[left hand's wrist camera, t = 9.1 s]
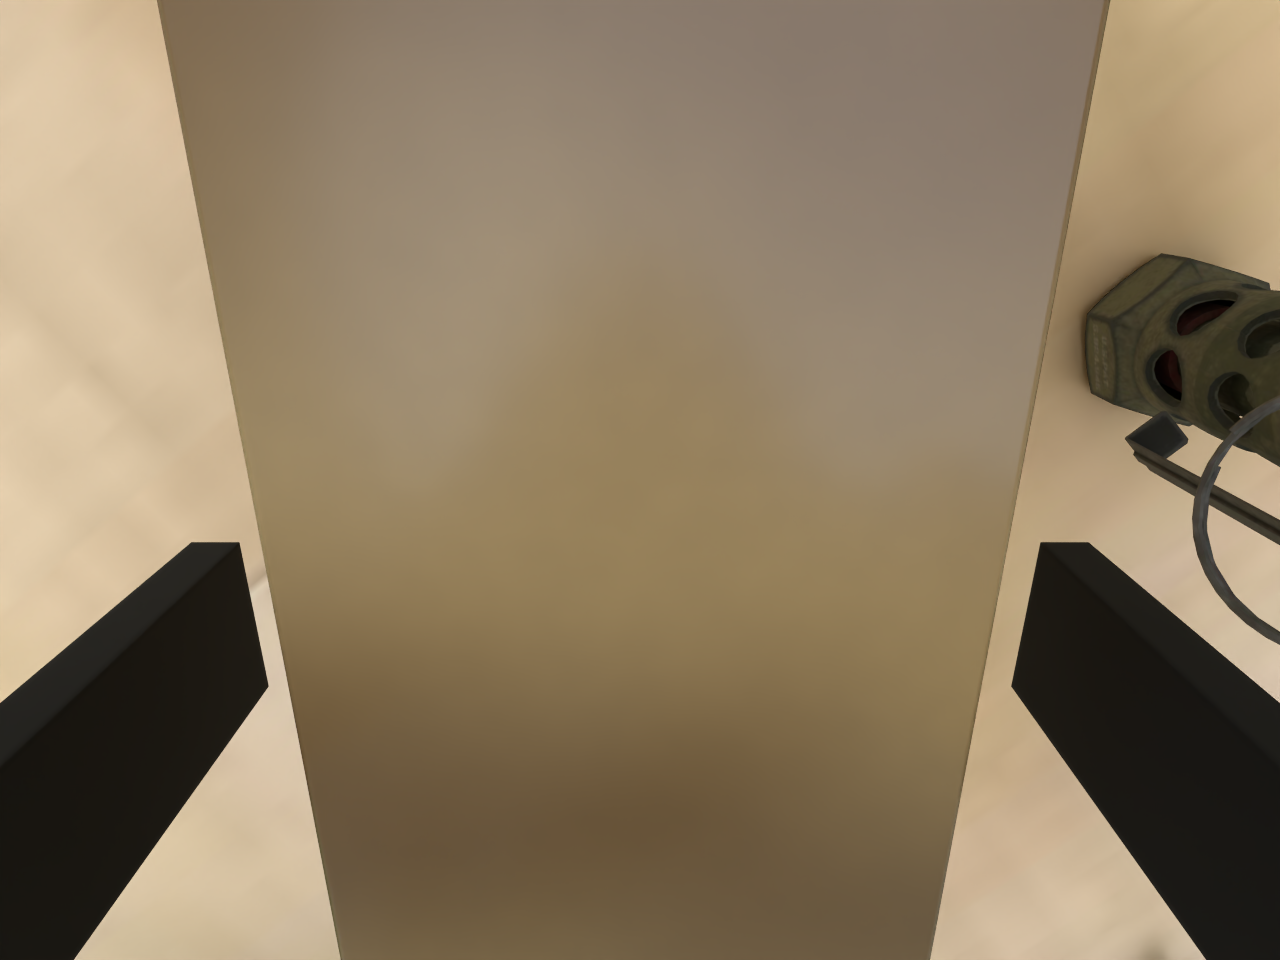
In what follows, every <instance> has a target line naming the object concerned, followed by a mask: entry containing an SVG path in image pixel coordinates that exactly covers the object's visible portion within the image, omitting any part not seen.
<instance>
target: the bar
mask: <svg viewBox="0 0 1280 960" xmlns="http://www.w3.org/2000/svg"><path fill="white" fill-rule="evenodd" d="M157 3H158V8H159V13H160V18H161V24H162V29H163V34H164V39H165V45H166V50H167V55H168V60H169V65H170V71H171V76H172V81H173V86H174V92H175V97H176V102H177V107H178V112H179V118H180V123H181V128H182V133H183V138H184V144H185V149H186V154H187V159H188V165H189V170H190V175H191V180H192V185H193V191H194V196H195V201H196V206H197V212H198V217H199V222H200V227H201V232H202V238H203V243H204V248H205V253H206V258H207V264H208V269H209V274H210V279H211V285H212V290H213V295H214V300H215V305H216V311H217V316H218V321H219V326H220V331H221V337H222V342H223V347H224V352H225V358H226V363H227V368H228V373H229V378H230V384H231V389H232V394H233V399H234V405H235V410H236V415H237V420H238V425H239V431H240V436H241V441H242V446H243V451H244V457H245V462H246V467H247V472H248V478H249V483H250V488H251V493H252V498H253V504H254V509H255V514H256V519H257V525H258V530H259V535H260V540H261V545H262V551H263V556H264V561H265V566H266V571H267V577H268V582H269V587H270V592H271V598H272V603H273V608H274V613H275V618H276V624H277V629H278V634H279V639H280V644H281V650H282V655H283V660H284V665H285V671H286V676H287V681H288V686H289V691H290V697H291V702H292V707H293V712H294V718H295V723H296V728H297V733H298V738H299V744H300V749H301V754H302V759H303V764H304V770H305V775H306V780H307V785H308V791H309V796H310V801H311V806H312V811H313V817H314V822H315V827H316V832H317V838H318V843H319V848H320V853H321V858H322V864H323V869H324V874H325V879H326V884H327V890H328V895H329V900H330V905H331V911H332V916H333V921H334V926H335V931H336V937H337V942H338V947H339V952H340V957H341V960H930V956H931V951H932V946H933V940H934V935H935V930H936V924H937V919H938V914H939V908H940V903H941V898H942V893H943V887H944V882H945V877H946V871H947V866H948V861H949V855H950V850H951V845H952V839H953V834H954V829H955V823H956V818H957V813H958V807H959V802H960V797H961V791H962V786H963V781H964V775H965V770H966V765H967V759H968V754H969V749H970V743H971V738H972V733H973V728H974V722H975V717H976V712H977V706H978V701H979V696H980V690H981V685H982V680H983V674H984V669H985V664H986V658H987V653H988V648H989V642H990V637H991V632H992V626H993V621H994V616H995V610H996V605H997V600H998V594H999V589H1000V584H1001V578H1002V573H1003V568H1004V563H1005V557H1006V552H1007V547H1008V541H1009V536H1010V531H1011V525H1012V520H1013V515H1014V509H1015V504H1016V499H1017V493H1018V488H1019V483H1020V477H1021V472H1022V467H1023V461H1024V456H1025V451H1026V445H1027V440H1028V435H1029V429H1030V424H1031V419H1032V413H1033V408H1034V403H1035V398H1036V392H1037V387H1038V382H1039V376H1040V371H1041V366H1042V360H1043V355H1044V350H1045V344H1046V339H1047V334H1048V328H1049V323H1050V318H1051V312H1052V307H1053V302H1054V296H1055V291H1056V286H1057V280H1058V275H1059V270H1060V264H1061V259H1062V254H1063V249H1064V243H1065V238H1066V233H1067V227H1068V222H1069V217H1070V211H1071V206H1072V201H1073V195H1074V190H1075V185H1076V179H1077V174H1078V169H1079V163H1080V158H1081V153H1082V147H1083V142H1084V137H1085V131H1086V126H1087V121H1088V115H1089V110H1090V105H1091V99H1092V94H1093V89H1094V84H1095V78H1096V73H1097V68H1098V62H1099V57H1100V52H1101V46H1102V41H1103V36H1104V30H1105V25H1106V20H1107V14H1108V9H1109V4H1110V0H157Z"/></svg>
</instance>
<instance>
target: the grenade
mask: <svg viewBox="0 0 1280 960" xmlns="http://www.w3.org/2000/svg"><path fill="white" fill-rule="evenodd" d="M1085 354H1086V365H1087V374H1088V379H1089V385H1090V390H1091V393H1092V394H1094V395H1096V396H1098V397H1100V398H1102V399H1104V400H1106V401H1108V402H1110V403H1112V404H1114V405H1117V406H1120V407H1123V408H1126V409H1129V410H1132V411H1135V412H1139V413H1142V414H1145V415H1149V416H1152V417H1153V418H1151V419H1150V420H1149V421H1147V422H1146V423H1144V424H1143V425H1142V426H1140V427H1139V428H1138V429H1136V430H1135V431H1134V432H1132V433H1131V434H1129V435H1128V436H1127V437H1126V438H1125V440H1126V441H1127V442H1128V443H1129V445H1130V446H1131V447H1132V449H1133V450H1134V451H1135V452H1134V454H1133V455H1134V456H1135V457H1136V459H1137V460H1138V461H1139V462H1141V463H1142V464H1144V465H1146V466H1147V468H1148V469H1149V470H1150V471H1152V472H1154V473H1155V474H1157V475H1159V476H1160V477H1162V478H1164V479H1166V480H1167V481H1169V482H1171V483H1173V484H1174V485H1176V486H1178V487H1180V488H1181V489H1183V490H1185V491H1187V492H1188V493H1190V494H1192V495H1193V496H1195V498H1194V506H1193V515H1192V523H1193V538H1194V542H1195V546H1196V551H1197V555H1198V558H1199V560H1200V563H1201V565H1202V568H1203V570H1204V572H1205V575H1206V576H1207V578H1208V580H1209V581H1210V583H1211V585H1212V586H1213V588H1214V589H1215V591H1216V593H1217V594H1218V595H1219V596H1220V597H1221V599H1222V600H1223V601H1224V602H1225V603H1226V605H1227V606H1228V607H1229V608H1230V609H1231V610H1232V611H1233V612H1234V613H1235V614H1236V615H1237V616H1238V617H1240V618H1241V619H1242V620H1243V621H1244V622H1245V623H1246V624H1247V625H1249V626H1250V627H1252V628H1253V629H1255V630H1256V631H1257V632H1259V633H1260V634H1262V635H1263V636H1265V637H1266V638H1268V639H1270V640H1272V641H1274V642H1275V643H1277V644H1279V645H1280V632H1279V631H1278V630H1276V629H1275V628H1273V627H1272V626H1270V625H1269V624H1267V623H1265V622H1264V621H1262V620H1261V619H1259V618H1258V617H1257V616H1256V615H1255V614H1254V613H1252V612H1251V611H1250V610H1249V609H1248V608H1247V607H1246V606H1245V605H1244V604H1243V603H1242V602H1241V601H1240V600H1239V599H1238V598H1237V597H1236V596H1235V595H1234V594H1233V592H1232V591H1231V589H1230V587H1229V586H1228V584H1227V582H1226V581H1225V579H1224V578H1223V576H1222V574H1221V573H1220V571H1219V569H1218V568H1217V566H1216V564H1215V561H1214V559H1213V555H1212V550H1211V546H1210V542H1209V538H1208V533H1207V516H1208V506H1209V505H1211V506H1213V507H1214V508H1216V509H1218V510H1220V511H1221V512H1223V513H1225V514H1226V515H1228V516H1230V517H1232V518H1233V519H1235V520H1237V521H1239V522H1240V523H1242V524H1244V525H1246V526H1247V527H1249V528H1251V529H1253V530H1254V531H1256V532H1258V533H1259V534H1261V535H1263V536H1265V537H1266V538H1268V539H1270V540H1272V541H1273V542H1275V543H1277V544H1279V545H1280V520H1279V519H1277V518H1275V517H1273V516H1271V515H1269V514H1268V513H1266V512H1264V511H1262V510H1260V509H1258V508H1256V507H1255V506H1253V505H1251V504H1249V503H1247V502H1245V501H1243V500H1242V499H1240V498H1238V497H1236V496H1234V495H1232V494H1230V493H1229V492H1227V491H1225V490H1223V489H1221V488H1219V487H1217V486H1215V485H1214V482H1215V480H1216V478H1217V475H1218V473H1219V471H1220V468H1221V467H1218V465H1219V464H1220V462H1221V461H1222V459H1223V458H1224V456H1225V455H1226V453H1227V452H1228V450H1229V449H1230V447H1231V446H1232V445H1234V446H1236V447H1238V448H1241V449H1243V450H1246V451H1250V452H1254V453H1257V454H1259V455H1260V456H1262V457H1264V458H1265V459H1267V460H1269V461H1270V462H1272V463H1274V464H1276V465H1277V466H1279V467H1280V291H1274V290H1270V285H1269V283H1267V282H1264V281H1261V280H1259V279H1256V278H1253V277H1250V276H1247V275H1244V274H1241V273H1238V272H1234V271H1231V270H1228V269H1224V268H1221V267H1218V266H1215V265H1211V264H1208V263H1204V262H1201V261H1197V260H1194V259H1190V258H1185V257H1179V256H1174V255H1168V254H1162V253H1161V254H1160V255H1158V256H1157V257H1155V258H1154V259H1152V260H1151V261H1149V262H1148V263H1146V264H1145V265H1143V266H1142V267H1140V268H1139V269H1137V270H1136V271H1135V272H1134V273H1132V274H1131V275H1130V276H1128V277H1127V278H1126V279H1124V280H1123V281H1122V282H1120V283H1119V284H1118V285H1117V286H1116V287H1115V288H1113V289H1112V290H1111V291H1110V292H1109V293H1108V294H1107V295H1106V296H1104V297H1103V298H1102V299H1101V300H1100V301H1099V302H1098V303H1097V304H1096V305H1095V306H1094V308H1093V309H1092V310H1091V311H1090V312H1089V313H1088V314H1087V321H1086V331H1085ZM1239 416H1242V418H1240V417H1239ZM1176 423H1177V424H1182V425H1186V426H1191V425H1195V426H1196V427H1198V428H1200V429H1202V430H1203V431H1205V432H1207V433H1209V434H1211V435H1213V436H1215V437H1217V438H1219V439H1221V440H1223V442H1222V443H1221V444H1220V446H1219V447H1218V448H1217V450H1216V451H1215V453H1214V454H1213V456H1212V457H1211V459H1210V460H1209V462H1208V463H1207V466H1206V468H1205V470H1204V472H1203V474H1202V476H1201V477H1199V476H1197V475H1195V474H1193V473H1191V472H1189V471H1188V470H1186V469H1184V468H1182V467H1180V466H1178V465H1176V464H1175V463H1173V462H1171V461H1169V460H1167V459H1166V458H1168V457H1169V456H1170V455H1172V454H1173V453H1175V452H1176V451H1177V450H1179V449H1180V448H1181V447H1183V446H1184V445H1186V444H1187V443H1188V438H1187V437H1186V436H1185V434H1184V433H1183V432H1182V430H1181V429H1180V428H1179V427H1178V425H1177V424H1176Z"/></svg>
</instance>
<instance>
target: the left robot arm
mask: <svg viewBox="0 0 1280 960" xmlns="http://www.w3.org/2000/svg"><path fill="white" fill-rule="evenodd" d="M268 687H269V686H268V681H267V676H266V671H265V666H264V661H263V656H262V651H261V646H260V642H259V637H258V632H257V627H256V622H255V617H254V612H253V607H252V602H251V597H250V592H249V587H248V583H247V578H246V573H245V568H244V563H243V558H242V553H241V548H240V543H239V542H191V543H190V544H189V545H188V546H187V547H185V548H184V549H183V550H182V551H181V552H179V553H178V554H177V555H176V556H175V557H174V558H172V559H171V560H170V561H169V562H168V563H166V564H165V565H164V566H163V567H162V568H160V569H159V570H158V571H157V572H156V573H155V574H153V575H152V576H151V577H150V578H149V579H147V580H146V581H145V582H144V583H143V584H141V585H140V586H139V587H138V588H137V589H135V590H134V591H133V592H132V593H131V594H130V595H128V596H127V597H126V598H125V599H124V600H122V601H121V602H120V603H119V604H118V605H116V606H115V607H114V608H113V609H112V610H110V611H109V612H108V613H107V614H106V615H105V616H103V617H102V618H101V619H100V620H99V621H97V622H96V623H95V624H94V625H93V626H91V627H90V628H89V629H88V630H87V631H85V632H84V633H83V634H82V635H81V636H80V637H78V638H77V639H76V640H75V641H74V642H72V643H71V644H70V645H69V646H68V647H66V648H65V649H64V650H63V651H62V652H61V653H59V654H58V655H57V656H56V657H55V658H53V659H52V660H51V661H50V662H49V663H47V664H46V665H45V666H44V667H43V668H41V669H40V670H39V671H38V672H37V673H36V674H34V675H33V676H32V677H31V678H30V679H28V680H27V681H26V682H25V683H24V684H22V685H21V686H20V687H19V688H18V689H16V690H15V691H14V692H13V693H12V694H11V695H9V696H8V697H7V698H6V699H5V700H3V701H2V702H1V703H0V960H74V959H75V957H76V956H77V954H78V953H79V952H80V950H81V949H82V947H83V946H84V945H85V943H86V942H87V940H88V939H89V938H90V936H91V935H92V933H93V932H94V931H95V929H96V928H97V926H98V925H99V924H100V922H101V921H102V919H103V918H104V917H105V915H106V914H107V912H108V911H109V910H110V908H111V907H112V905H113V904H114V903H115V901H116V900H117V898H118V897H119V896H120V894H121V893H122V891H123V890H124V889H125V887H126V886H127V884H128V883H129V882H130V880H131V879H132V877H133V876H134V874H135V873H136V872H137V870H138V869H139V867H140V866H141V865H142V863H143V862H144V860H145V859H146V858H147V856H148V855H149V853H150V852H151V851H152V849H153V848H154V846H155V845H156V844H157V842H158V841H159V839H160V838H161V837H162V835H163V834H164V832H165V831H166V830H167V828H168V827H169V825H170V824H171V823H172V821H173V820H174V818H175V817H176V816H177V814H178V813H179V811H180V810H181V809H182V807H183V806H184V804H185V803H186V802H187V800H188V799H189V797H190V796H191V795H192V793H193V792H194V790H195V789H196V788H197V786H198V785H199V783H200V782H201V781H202V779H203V778H204V776H205V775H206V774H207V772H208V771H209V769H210V768H211V766H212V765H213V764H214V762H215V761H216V759H217V758H218V757H219V755H220V754H221V752H222V751H223V750H224V748H225V747H226V745H227V744H228V743H229V741H230V740H231V738H232V737H233V736H234V734H235V733H236V731H237V730H238V729H239V727H240V726H241V724H242V723H243V722H244V720H245V719H246V717H247V716H248V715H249V713H250V712H251V710H252V709H253V708H254V706H255V705H256V703H257V702H258V701H259V699H260V698H261V696H262V695H263V694H264V692H265V691H266V689H267V688H268ZM1011 687H1012V688H1013V689H1014V691H1015V692H1016V694H1017V695H1018V696H1019V698H1020V699H1021V701H1022V702H1023V703H1024V705H1025V706H1026V708H1027V709H1028V710H1029V712H1030V713H1031V715H1032V716H1033V717H1034V719H1035V720H1036V722H1037V723H1038V724H1039V726H1040V727H1041V729H1042V730H1043V731H1044V733H1045V734H1046V736H1047V737H1048V738H1049V740H1050V741H1051V743H1052V744H1053V745H1054V747H1055V748H1056V750H1057V751H1058V752H1059V754H1060V755H1061V757H1062V758H1063V760H1064V761H1065V762H1066V764H1067V765H1068V767H1069V768H1070V769H1071V771H1072V772H1073V774H1074V775H1075V776H1076V778H1077V779H1078V781H1079V782H1080V783H1081V785H1082V786H1083V788H1084V789H1085V790H1086V792H1087V793H1088V795H1089V796H1090V797H1091V799H1092V800H1093V802H1094V803H1095V804H1096V806H1097V807H1098V809H1099V810H1100V811H1101V813H1102V814H1103V816H1104V817H1105V818H1106V820H1107V821H1108V823H1109V824H1110V825H1111V827H1112V828H1113V830H1114V831H1115V832H1116V834H1117V835H1118V837H1119V838H1120V839H1121V841H1122V842H1123V844H1124V845H1125V846H1126V848H1127V849H1128V851H1129V852H1130V853H1131V855H1132V856H1133V858H1134V859H1135V860H1136V862H1137V863H1138V865H1139V866H1140V868H1141V869H1142V870H1143V872H1144V873H1145V875H1146V876H1147V877H1148V879H1149V880H1150V882H1151V883H1152V884H1153V886H1154V887H1155V889H1156V890H1157V891H1158V893H1159V894H1160V896H1161V897H1162V898H1163V900H1164V901H1165V903H1166V904H1167V905H1168V907H1169V908H1170V910H1171V911H1172V912H1173V914H1174V915H1175V917H1176V918H1177V919H1178V921H1179V922H1180V924H1181V925H1182V926H1183V928H1184V929H1185V931H1186V932H1187V933H1188V935H1189V936H1190V938H1191V939H1192V940H1193V942H1194V943H1195V945H1196V946H1197V947H1198V949H1199V950H1200V952H1201V953H1202V954H1203V956H1204V957H1205V959H1206V960H1280V703H1279V702H1278V701H1277V700H1275V699H1274V698H1273V697H1272V696H1271V695H1269V694H1268V693H1267V692H1266V691H1265V690H1263V689H1262V688H1261V687H1260V686H1259V685H1258V684H1256V683H1255V682H1254V681H1253V680H1252V679H1250V678H1249V677H1248V676H1247V675H1246V674H1244V673H1243V672H1242V671H1241V670H1240V669H1239V668H1237V667H1236V666H1235V665H1234V664H1233V663H1231V662H1230V661H1229V660H1228V659H1227V658H1225V657H1224V656H1223V655H1222V654H1221V653H1219V652H1218V651H1217V650H1216V649H1215V648H1214V647H1212V646H1211V645H1210V644H1209V643H1208V642H1206V641H1205V640H1204V639H1203V638H1202V637H1200V636H1199V635H1198V634H1197V633H1196V632H1194V631H1193V630H1192V629H1191V628H1190V627H1189V626H1187V625H1186V624H1185V623H1184V622H1183V621H1181V620H1180V619H1179V618H1178V617H1177V616H1175V615H1174V614H1173V613H1172V612H1171V611H1169V610H1168V609H1167V608H1166V607H1165V606H1164V605H1162V604H1161V603H1160V602H1159V601H1158V600H1156V599H1155V598H1154V597H1153V596H1152V595H1150V594H1149V593H1148V592H1147V591H1146V590H1145V589H1143V588H1142V587H1141V586H1140V585H1139V584H1137V583H1136V582H1135V581H1134V580H1133V579H1131V578H1130V577H1129V576H1128V575H1127V574H1125V573H1124V572H1123V571H1122V570H1121V569H1120V568H1118V567H1117V566H1116V565H1115V564H1114V563H1112V562H1111V561H1110V560H1109V559H1108V558H1106V557H1105V556H1104V555H1103V554H1102V553H1100V552H1099V551H1098V550H1097V549H1096V548H1095V547H1093V546H1092V545H1091V544H1090V543H1089V542H1041V543H1040V548H1039V553H1038V558H1037V563H1036V568H1035V573H1034V578H1033V582H1032V587H1031V592H1030V597H1029V602H1028V607H1027V612H1026V617H1025V622H1024V627H1023V632H1022V636H1021V641H1020V646H1019V651H1018V656H1017V661H1016V666H1015V671H1014V676H1013V681H1012V686H1011Z"/></svg>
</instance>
